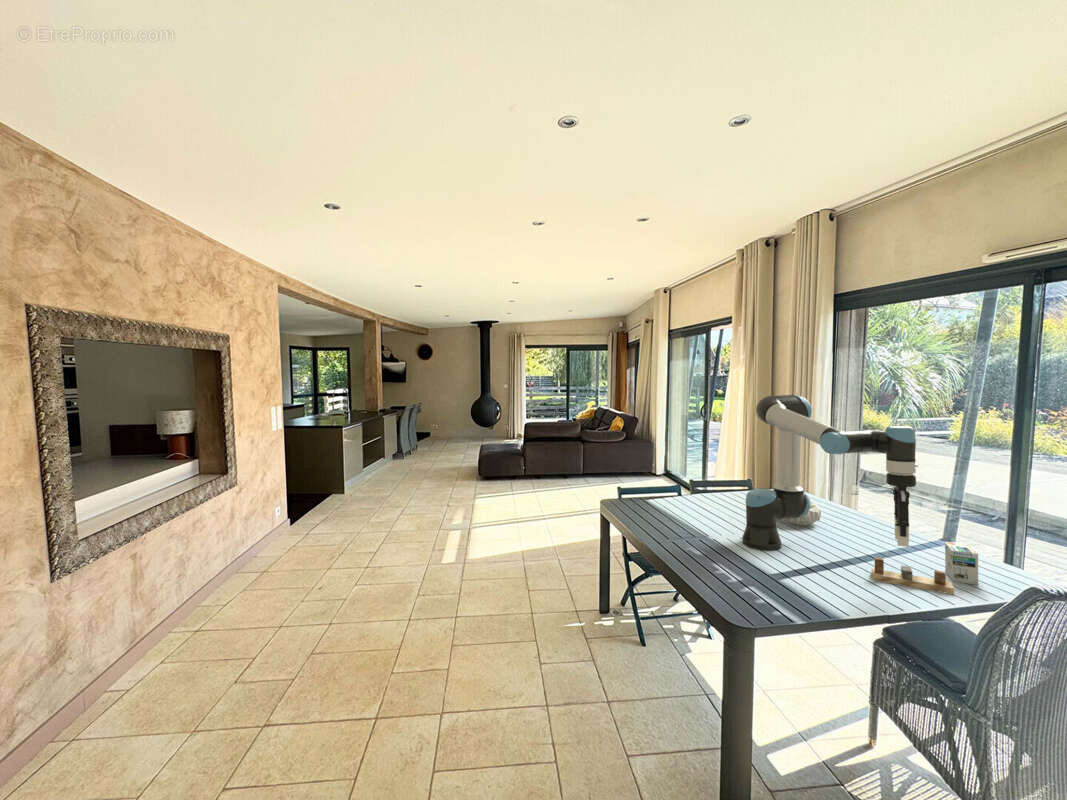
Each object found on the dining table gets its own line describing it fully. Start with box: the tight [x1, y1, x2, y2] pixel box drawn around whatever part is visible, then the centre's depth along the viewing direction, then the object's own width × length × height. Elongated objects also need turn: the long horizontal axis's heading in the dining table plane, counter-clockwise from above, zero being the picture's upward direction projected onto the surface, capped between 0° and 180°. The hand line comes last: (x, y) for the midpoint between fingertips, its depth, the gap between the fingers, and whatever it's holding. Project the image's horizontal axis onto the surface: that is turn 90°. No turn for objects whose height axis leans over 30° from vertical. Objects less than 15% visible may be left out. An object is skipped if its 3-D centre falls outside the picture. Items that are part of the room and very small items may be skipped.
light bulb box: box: [944, 541, 979, 586], centre depth 155 cm, size 11×7×11 cm, turn 148°
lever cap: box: [894, 516, 910, 542], centre depth 146 cm, size 3×7×7 cm, turn 145°
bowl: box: [783, 502, 822, 526], centre depth 220 cm, size 21×20×10 cm
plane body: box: [871, 556, 955, 595], centre depth 152 cm, size 21×6×7 cm, turn 55°
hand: (901, 542), depth 146 cm, fingers closed on lever cap, 7 cm apart
